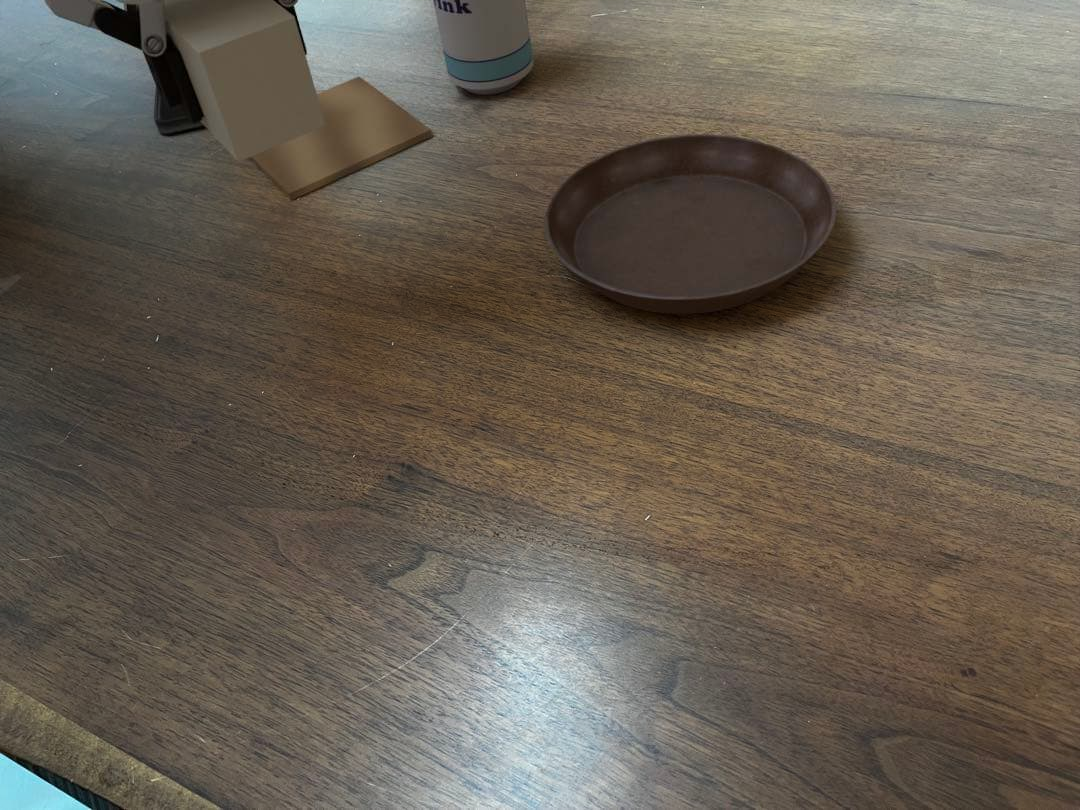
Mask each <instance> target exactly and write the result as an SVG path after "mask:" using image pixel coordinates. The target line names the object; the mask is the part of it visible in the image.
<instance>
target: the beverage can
mask: <svg viewBox="0 0 1080 810" xmlns="http://www.w3.org/2000/svg"><path fill="white" fill-rule="evenodd" d="M432 3H433V7H434V11H435V17H436V22H437V26H438V31H439V36H440V37H439V38H440V41H441V47H442V51H443V57H444V62H445V66H446V71H447V77H448V78H449V81H450V82H451V83H453V84H454V85H455V86H457V87H459V88H463V89H465V90H466V91H468V92H470V93H471V94H476V95H481V96H482V95H483V96H485V95H496V94H500V93H504V92H507V91H509V90H510V89H513V88H514V87H516V86H517V85H518V84H520V82H521V81H522V79H523V78H525V77H526V76H527V75H528V74H530V72H531V71H532V69H533V67H534V55H533V49H532V41H531V33H530V27H529V19H528V13H527V12H528V11H527V6H526V0H432Z"/></svg>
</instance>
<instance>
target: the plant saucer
mask: <svg viewBox="0 0 1080 810" xmlns="http://www.w3.org/2000/svg"><path fill="white" fill-rule="evenodd" d="M836 215H837V205H836V198H835V196H834V192H833V190H832V189H831V186H830V185H829V183H828V181H827V180H826V178H825V177H824V176H823V175H822V174H821V173H820V172H819V171H818V170H817V169H816V168H814V167H813V166H812V165H810V164H809V162H807V161H805V160H804V159H802V158H801V157H799V156H798V155H796V154H793V153H791V152H790V151H788V150H785V149H783V148H781V147H779V146H776V145H773V144H770V143H765V142H764V141H763V142H762V141H760V140H757V139H756V140H755V139H751V138H747V137H741V136H735V135H727V134H726V135H723V134H709V133H708V134H707V133H706V134H705V133H704V134H703V133H701V134H697V133H695V134H680V135H679V134H678V135H670V136H661V137H656V138H652V139H647V140H644V141H640V142H634V143H632V144H629V145H628V144H627V145H625V146H622V147H619V148H616V149H614V150H611V151H608V152H607V153H604V154H602V155H600V156H599V157H596V158H595V159H592V160H591V161H590V162H587V163H585V164H584V165H582V166H581V167H580V168H578V169H577V170H575V172H573V173H571V175H569V176H568V177H567V178H566V179H565V180H564V181H563V182H562V183H561V184H560V185H559V187H558V188H557V189H556V191H555V192H554V193H553V195H552V196H551V198H550V200H549V202H548V205H547V207H546V210H545V214H544V232H545V237H546V240H547V243H548V245H549V247H550V249H551V250H552V252H553V254H554V255H555V256H556V258H557V259H558V260H559V261H560V262H561V263H562V264H563V266H564V267H565V268H566V269H567V270H568V271H569V272H570V273H571V274H572V275H574V277H576V278H577V279H578V280H579V281H581V282H582V283H583V284H585V285H587V286H588V287H589V288H591V289H593V290H594V291H596V292H597V293H599V294H601V295H603V296H605V297H607V298H609V299H610V300H613V301H614V302H617V303H619V304H622V305H623V306H627V307H629V308H630V307H631V308H634V309H638V310H642V311H647V312H653V313H659V314H669V315H670V314H671V315H694V314H695V315H696V314H705V313H712V312H718V311H723V310H728V309H731V308H735V307H738V306H742V305H745V304H747V303H750V302H753V301H755V300H758V299H759V298H762V297H764V296H765V295H767V294H770V293H771V292H773V291H774V290H776V289H777V288H778V287H780V286H782V285H783V284H785V283H786V282H787V281H788V280H790V279H792V278H793V277H794V276H795V275H796V274H797V273H798V272H799V271H801V270H802V269H803V268H804V267H805V266H806V265H807V264H808V263H809V262H810V261H811V260H812V259H813V257H815V255H816V254H817V253H818V252H819V251H820V249H821V248H822V247H823V246H824V244H825V243H826V242H827V240H828V238H829V236H830V235H831V233H832V231H833V228H834V225H835V222H836Z"/></svg>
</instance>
